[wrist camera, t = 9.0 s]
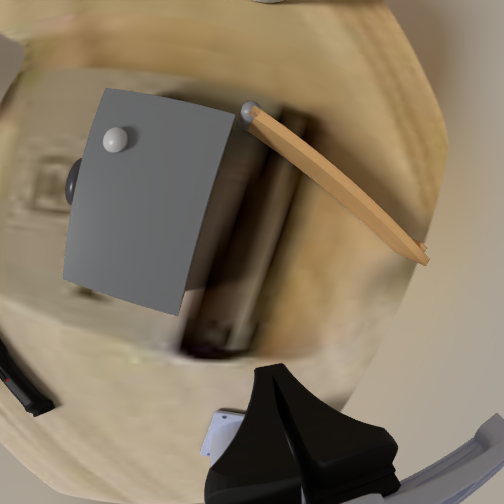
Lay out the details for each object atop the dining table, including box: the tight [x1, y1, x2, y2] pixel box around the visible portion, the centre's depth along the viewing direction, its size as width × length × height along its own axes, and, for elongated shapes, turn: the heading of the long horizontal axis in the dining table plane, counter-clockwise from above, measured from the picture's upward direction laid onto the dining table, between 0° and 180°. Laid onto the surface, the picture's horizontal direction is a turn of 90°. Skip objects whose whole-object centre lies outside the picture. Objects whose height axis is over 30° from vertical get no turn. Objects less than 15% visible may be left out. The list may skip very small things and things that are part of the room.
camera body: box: [63, 88, 235, 316], centre depth 16 cm, size 9×12×4 cm
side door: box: [237, 101, 430, 266], centre depth 17 cm, size 1×16×4 cm, turn 54°
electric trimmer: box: [0, 342, 55, 417], centre depth 19 cm, size 4×16×3 cm, turn 30°
